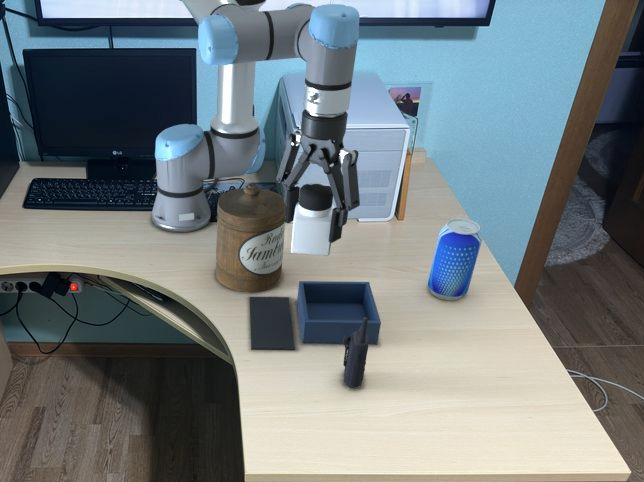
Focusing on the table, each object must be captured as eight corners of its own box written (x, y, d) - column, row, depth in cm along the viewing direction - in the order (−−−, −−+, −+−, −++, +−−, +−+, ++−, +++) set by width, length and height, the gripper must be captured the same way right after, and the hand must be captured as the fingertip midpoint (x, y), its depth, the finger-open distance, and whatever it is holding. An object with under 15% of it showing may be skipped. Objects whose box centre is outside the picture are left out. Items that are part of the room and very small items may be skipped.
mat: (249, 298, 146) (249, 296, 145) (288, 298, 145) (288, 297, 145) (251, 349, 132) (251, 348, 131) (294, 350, 131) (294, 348, 131)
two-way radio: (362, 390, 122) (374, 324, 112) (337, 388, 122) (347, 321, 113) (361, 371, 126) (373, 305, 117) (337, 368, 127) (347, 303, 117)
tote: (297, 301, 144) (299, 281, 141) (365, 302, 144) (369, 281, 140) (302, 343, 133) (304, 321, 130) (377, 344, 132) (381, 322, 129)
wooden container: (253, 300, 145) (258, 207, 131) (202, 276, 153) (202, 186, 139) (294, 273, 153) (302, 183, 140) (244, 251, 161) (247, 164, 148)
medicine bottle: (329, 256, 124) (336, 197, 117) (290, 253, 125) (295, 194, 118) (330, 237, 130) (337, 179, 122) (293, 234, 131) (298, 177, 123)
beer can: (424, 298, 145) (440, 231, 135) (428, 278, 151) (443, 213, 141) (465, 305, 142) (484, 238, 132) (467, 284, 148) (485, 219, 138)
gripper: (260, 99, 116) (254, 216, 130) (368, 133, 103) (349, 259, 117) (288, 89, 120) (280, 204, 134) (395, 121, 107) (374, 244, 121)
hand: (312, 229), depth 125 cm, fingers closed on medicine bottle, 10 cm apart
